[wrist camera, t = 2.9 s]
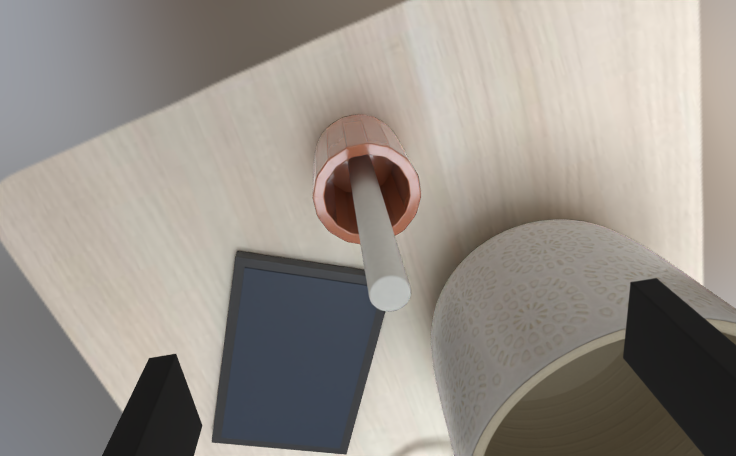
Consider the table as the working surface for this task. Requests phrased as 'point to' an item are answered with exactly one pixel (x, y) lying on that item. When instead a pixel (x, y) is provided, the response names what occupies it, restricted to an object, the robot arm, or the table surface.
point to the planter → (555, 345)
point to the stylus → (377, 239)
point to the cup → (389, 166)
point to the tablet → (294, 354)
